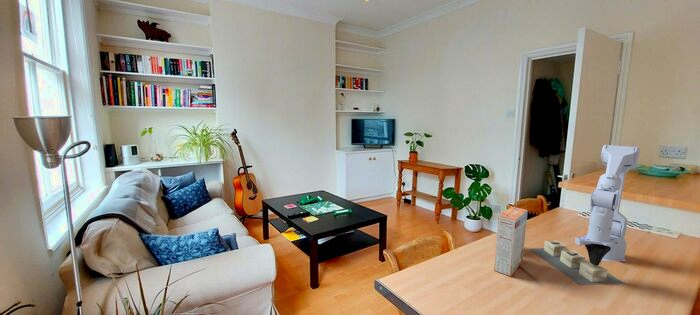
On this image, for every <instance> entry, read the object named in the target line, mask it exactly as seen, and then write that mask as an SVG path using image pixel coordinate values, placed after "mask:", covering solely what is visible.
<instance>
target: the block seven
mask: <svg viewBox="0 0 700 315" xmlns="http://www.w3.org/2000/svg"><path fill="white" fill-rule="evenodd" d="M585 260H586V256H584V255H582V254H581V253H579V252H577V251H575V250H570V251H561V257H560V261H561V262H563V263H564V264H566V265H567V266H569V267H570V268H580V263H585Z"/></svg>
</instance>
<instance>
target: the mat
mask: <svg viewBox="0 0 700 315" xmlns="http://www.w3.org/2000/svg"><path fill="white" fill-rule="evenodd" d="M528 250H529V251H530V252H532V253H534V254H535V255H536V256H538V257H539V258H541V259H542V260H543V261H545V262H547V263H548V264H549V265H550V266H552V267H553V268H555V269H556V270H558V271H560V273H562V274H563V275H564V276H566V277H568V278H569V279H571V280H572V281H573V282H574V283H576V284H577V285H579V286H585V285H586V286H591V285H592V286H593V285H595V286H596V285H620V284H625V285H626V282H625V281H623V280H621V279H619V278H617V277H615V276H614V275H612V274H611V273H609V272H607V277H606V281H598V282H591V281H590V280H588V279H587V278H585V277H584V276H582V275H581V274H579V269H580V268H570V267H569V266H567V265H566V264H564V263H563V262H561V261H560V257H561V256H552V255H551V254H549V253H548V252H546V251H544V247H540V248H539V247H538V248H537V247H536V248H534V247H531V248H528ZM566 251H571V250H570V249H568V248H567V247H566ZM587 262H590V260H587V259H585V263H587Z"/></svg>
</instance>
